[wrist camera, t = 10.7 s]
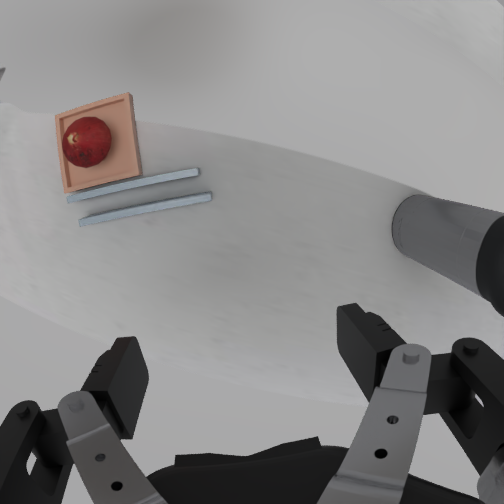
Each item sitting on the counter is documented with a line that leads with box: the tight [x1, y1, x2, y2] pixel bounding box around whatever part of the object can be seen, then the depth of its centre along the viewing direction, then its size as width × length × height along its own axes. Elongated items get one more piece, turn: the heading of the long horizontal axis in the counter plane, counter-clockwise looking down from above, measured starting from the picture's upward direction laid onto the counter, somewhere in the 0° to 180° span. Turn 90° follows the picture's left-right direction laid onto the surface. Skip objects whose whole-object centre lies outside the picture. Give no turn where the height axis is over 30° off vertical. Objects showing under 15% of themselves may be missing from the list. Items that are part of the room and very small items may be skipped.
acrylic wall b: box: [67, 168, 200, 203], centre depth 34 cm, size 16×1×4 cm, turn 98°
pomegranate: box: [62, 117, 112, 168], centre depth 30 cm, size 6×6×8 cm
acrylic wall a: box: [78, 191, 212, 226], centre depth 35 cm, size 16×1×4 cm, turn 98°
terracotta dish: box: [55, 92, 143, 193], centre depth 33 cm, size 10×10×2 cm
